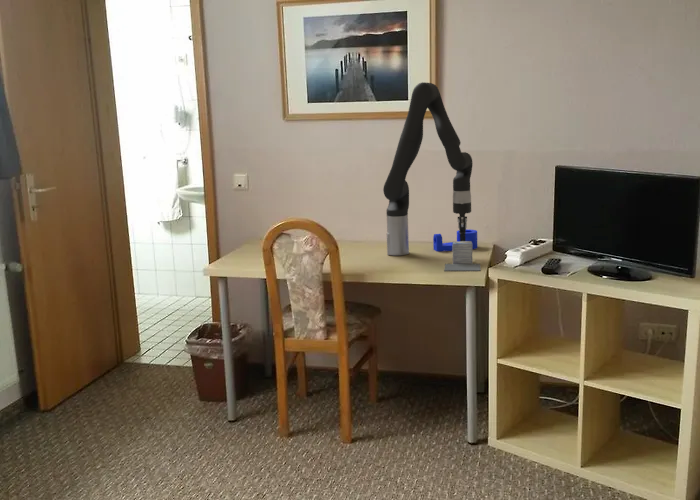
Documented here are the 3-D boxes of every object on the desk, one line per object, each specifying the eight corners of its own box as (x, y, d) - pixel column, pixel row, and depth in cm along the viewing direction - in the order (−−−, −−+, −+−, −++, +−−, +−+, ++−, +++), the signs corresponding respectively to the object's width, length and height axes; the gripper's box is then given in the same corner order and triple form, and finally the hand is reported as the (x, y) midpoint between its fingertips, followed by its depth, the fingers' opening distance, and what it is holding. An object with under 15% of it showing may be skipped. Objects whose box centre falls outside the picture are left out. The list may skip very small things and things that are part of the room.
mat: (444, 271, 280) (444, 270, 280) (445, 264, 290) (445, 263, 290) (480, 271, 278) (480, 270, 277) (480, 264, 288) (480, 263, 288)
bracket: (472, 245, 326) (472, 228, 325) (480, 249, 318) (480, 232, 316) (431, 249, 322) (431, 232, 321) (438, 253, 314) (438, 236, 312)
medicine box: (471, 261, 294) (471, 240, 292) (472, 264, 290) (472, 243, 288) (452, 262, 295) (452, 241, 293) (453, 264, 290) (452, 243, 289)
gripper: (453, 199, 303) (454, 239, 306) (452, 203, 290) (453, 245, 294) (471, 198, 302) (471, 239, 305) (471, 203, 289) (472, 245, 292)
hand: (462, 242), depth 299 cm, fingers closed
